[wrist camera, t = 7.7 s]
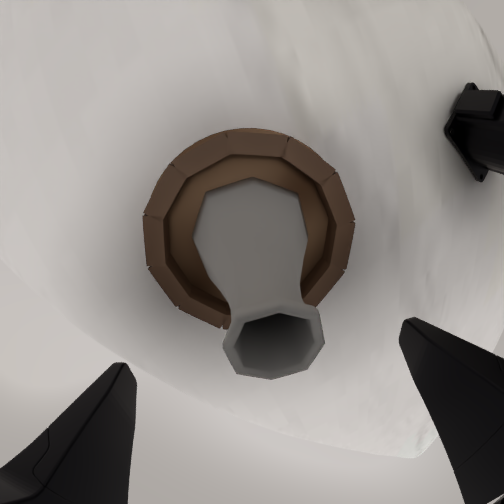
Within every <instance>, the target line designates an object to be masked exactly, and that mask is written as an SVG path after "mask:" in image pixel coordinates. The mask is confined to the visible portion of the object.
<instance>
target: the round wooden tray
mask: <svg viewBox="0 0 504 504" xmlns="http://www.w3.org/2000/svg"><path fill="white" fill-rule="evenodd" d="M250 177H256V178H258V179H261V180H264V181H267V182H270V183H272V184H275V185H278V186H281V187H283V188H286V189H289V190H291V191H294V192H297V193H298V195H299V199H300V203H301V207H302V211H303V215H304V219H305V224H306V228H307V232H308V242H307V246H306V250H305V255H304V259H303V266H302V272H301V279H300V291H301V297H302V299H303V302H304V303H305V304H307V305H312V306H314V307H316V306H317V305H318V304H319V303H320V302H321V301H322V299H323V298H324V297H325V296H326V295H327V293H328V292H329V291H330V290H331V289H332V287H333V286H334V285H335V284H336V282H337V281H338V280H339V279H340V278H341V276H342V275H343V274H344V273H345V272H344V270H343V269H346V268H347V264H348V259H349V254H350V249H351V244H352V239H353V234H354V228H355V222H353V221H354V220H355V218H354V215H353V212H352V209H351V206H350V204H349V201H348V198H347V195H346V193H345V190H344V187H343V185H342V182H341V179H340V177H339V174H338V173H337V172H335V169H334V168H333V167H331V166H330V165H329V164H328V163H326V162H325V161H324V160H323V159H322V158H321V157H320V156H319V155H318V154H317V153H315V152H314V151H313V150H312V149H311V148H309V147H308V146H306V145H305V144H303V143H302V142H300V141H298V140H296V139H294V138H292V137H290V136H288V135H285V134H282V133H278V132H275V131H271V130H265V129H257V128H240V129H233V130H227V131H223V132H220V133H216V134H213V135H210V136H208V137H206V138H204V139H202V140H199V141H197V142H196V143H194V144H193V145H191V146H190V147H188V148H187V149H185V150H184V151H183V152H182V153H181V154H179V155H178V156H177V157H176V158H175V159H174V160H173V161H172V162H171V163H170V164H169V165H168V167H167V168H166V169H165V171H164V172H163V174H162V175H161V177H160V178H159V180H158V182H157V184H156V186H155V188H154V190H153V193H152V195H151V198H150V200H149V202H148V204H147V206H146V208H145V210H144V212H143V213H145V214H144V215H143V231H144V242H145V253H146V263H147V266H149V268H148V270H149V271H150V272H151V274H152V275H153V277H154V278H155V279H156V281H157V282H158V284H159V285H160V286H161V288H162V289H163V290H164V292H165V293H166V294H167V296H168V297H169V298H170V300H171V301H172V302H173V304H174V305H175V306H176V307H177V306H179V308H178V309H180V310H182V311H184V312H186V313H188V314H190V315H192V316H194V317H196V318H198V319H200V320H202V321H204V322H207V323H209V324H211V325H213V326H215V327H217V328H221V326H222V325H223V329H229V327H230V324H231V309H230V306H229V303H228V302H227V300H226V299H225V297H224V296H223V294H222V293H221V291H220V290H219V289H218V288H217V287H216V285H215V284H214V283H213V282H212V281H211V279H210V278H209V276H208V275H207V272H206V270H205V268H204V265H203V263H202V260H201V258H200V256H199V253H198V251H197V248H196V246H195V243H194V241H193V238H192V233H193V229H194V226H195V223H196V219H197V216H198V213H199V210H200V207H201V204H202V200H203V197H204V194H205V192H206V191H209V190H212V189H215V188H218V187H221V186H224V185H227V184H230V183H234V182H237V181H240V180H243V179H246V178H250Z"/></svg>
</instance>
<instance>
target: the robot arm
mask: <svg viewBox="0 0 504 504" xmlns="http://www.w3.org/2000/svg"><path fill="white" fill-rule="evenodd" d="M450 130H451V133H450ZM445 134H446V136H447V137H448V138H449V140H450V141H451V142H452V144H453V145H454V147H455V148H456V150H457V151H458V152H459V154H460V155H461V157H462V158H463V160H464V161H465V163H466V164H467V166H468V167H469V169H470V171H471V172H472V174H473V175H474V177H475V179H476V180H477V181H478V182H483V181H484V179H485V177H486V175H487V173H488V171H489V170H490V171H494V172H497V173H500V174H503V175H504V95H503V94H502V93H501V91H498V90H479V89H478V88H477V86H476V85H475V84H474V83H468V84H467V86H466V88H465V90H464V92H463V94H462V96H461V98H460V100H459V102H458V104H457V106H456V108H455V110H454V112H453V114H452V116H451V118H450V120H449V122H448V123H447V125H446V127H445ZM399 345H400V347H401V350H402V352H403V355H404V357H405V360H406V362H407V365H408V368H409V370H410V373H411V375H412V378H413V380H414V382H415V385H416V387H417V389H418V391H419V393H420V395H421V397H422V399H423V401H424V403H425V405H426V407H427V409H428V411H429V414H430V416H431V418H432V420H433V422H434V424H435V427H436V429H437V431H438V434H439V436H440V438H441V440H442V443H443V445H444V448H445V450H446V453H447V455H448V458H449V460H450V462H451V465H452V468H453V470H454V474H455V476H456V479H457V482H458V484H459V488H460V490H461V493H462V496H463V499H464V502H465V504H487V503H489V502H490V501H492V500H494V499H496V498H497V497H499V496H500V495H502V494H504V358H501V357H499V356H496V355H495V354H493V353H491V352H489V351H487V350H485V349H482V348H480V347H478V346H476V345H474V344H472V343H470V342H468V341H465V340H463V339H461V338H459V337H457V336H455V335H453V334H451V333H448V332H446V331H444V330H442V329H440V328H438V327H436V326H433V325H431V324H429V323H427V322H425V321H423V320H421V319H418V318H416V317H412V318H409V319H405V320H404V321H403V324H402V328H401V332H400V335H399ZM136 393H137V382H136V379H135V377H134V375H133V373H132V372H131V370H130V368H129V366H128V365H127V364H126V363H122V362H118V363H117V362H116V363H113V364H112V365H111V366H110V367H109V368H108V369H107V370H106V371H105V372H104V373H103V374H102V375H101V376H100V377H99V378H98V379H97V380H96V381H95V382H94V383H92V384H91V385H90V386H89V387H88V388H87V389H86V390H85V391H84V392H83V393H82V394H81V395H80V396H79V397H78V398H77V399H76V400H75V401H74V402H73V403H72V404H71V405H70V406H69V407H68V408H67V409H66V410H65V411H64V412H63V413H62V414H61V415H60V416H59V417H58V418H57V419H56V420H55V421H54V422H53V423H52V424H51V425H50V426H49V427H48V428H47V429H46V430H45V431H44V432H43V433H42V434H41V435H40V436H38V437H37V438H36V439H35V440H34V441H33V442H32V443H31V444H30V445H29V446H28V447H26V448H25V449H24V450H23V451H22V452H20V453H19V454H18V455H17V456H15V457H14V458H13V459H12V460H11V461H9V462H8V463H7V464H6V465H4V466H3V467H2V468H0V504H128V488H129V476H130V465H131V455H132V446H133V439H134V431H135V419H136ZM494 504H504V495H503V496H502V497H501V498H500V499H498V500H497V501H496V502H495V503H494Z"/></svg>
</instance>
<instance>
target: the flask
mask: <svg viewBox="0 0 504 504" xmlns="http://www.w3.org/2000/svg"><path fill="white" fill-rule="evenodd" d="M192 238H193V241H194V243H195V246H196V248H197V251H198V253H199V256H200V258H201V260H202V263H203V265H204V268H205V270H206V272H207V275H208V276H209V278H210V279H211V281H212V282H213V283H214V284H215V285H216V287H217V288H218V289H219V290H220V291H221V293H222V294H223V296H224V297H225V299H226V300H227V302H228V303H229V306H230V309H231V324H230V327H229V329H228V331H227V334H226V336H225V339H224V341H223V349H224V351H225V353H226V355H227V357H228V359H229V361H230V363H231V365H232V366H233V368H234V370H235V372H236V374H240V375H246V376H251V377H257V378H264V379H270V380H272V379H276V378H280V377H283V376H287V375H290V374H294V373H297V372H301V371H304V370H307V369H308V368H309V366H310V365H311V363H312V362H313V360H314V359H315V358H316V356H317V355H318V353H319V352H320V350H321V349H322V347H323V346H324V344H325V341H324V335H323V330H322V325H321V320H320V314H319V312H318V309H317V308H316V307H314V306H311V305H307V304H305V303H304V302H303V299H302V297H301V291H300V279H301V272H302V266H303V259H304V255H305V250H306V246H307V242H308V232H307V228H306V224H305V219H304V215H303V211H302V207H301V203H300V199H299V195H298V193H297V192H294V191H291V190H289V189H286V188H283V187H281V186H278V185H275V184H272V183H270V182H267V181H264V180H261V179H258V178H256V177H250V178H246V179H243V180H240V181H237V182H234V183H230V184H227V185H224V186H221V187H218V188H215V189H212V190H209V191H206V192H205V194H204V197H203V200H202V204H201V207H200V210H199V213H198V216H197V219H196V223H195V226H194V229H193V233H192Z"/></svg>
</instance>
